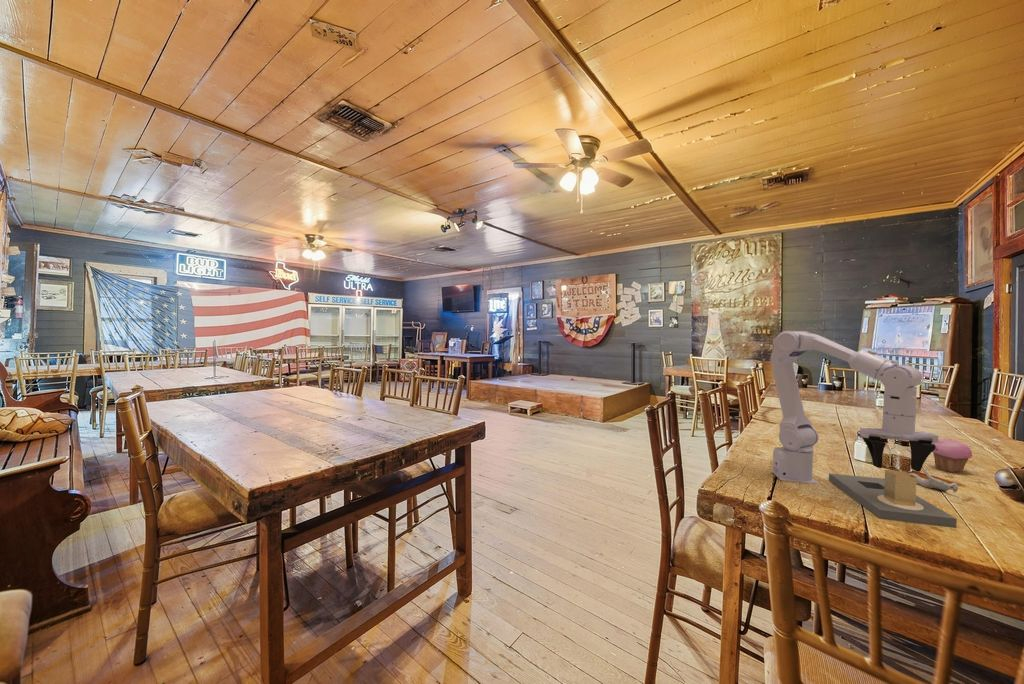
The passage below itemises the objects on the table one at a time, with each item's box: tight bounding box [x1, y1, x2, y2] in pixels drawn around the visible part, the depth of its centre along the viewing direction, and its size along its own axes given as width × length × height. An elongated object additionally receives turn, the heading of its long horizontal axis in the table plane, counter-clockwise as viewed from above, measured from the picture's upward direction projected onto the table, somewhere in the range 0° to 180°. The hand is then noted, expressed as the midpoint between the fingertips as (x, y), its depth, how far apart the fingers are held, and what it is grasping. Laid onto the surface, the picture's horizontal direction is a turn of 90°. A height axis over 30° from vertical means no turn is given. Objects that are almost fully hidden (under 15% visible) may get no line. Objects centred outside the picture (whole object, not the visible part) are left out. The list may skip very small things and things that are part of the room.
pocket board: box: [828, 473, 958, 529], centre depth 101 cm, size 14×24×3 cm, turn 163°
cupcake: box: [932, 438, 973, 473], centre depth 124 cm, size 9×9×10 cm
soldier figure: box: [898, 467, 959, 494], centre depth 110 cm, size 8×5×12 cm
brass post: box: [884, 469, 917, 506], centre depth 95 cm, size 4×4×7 cm
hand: (896, 468), depth 96 cm, fingers open, 7 cm apart
